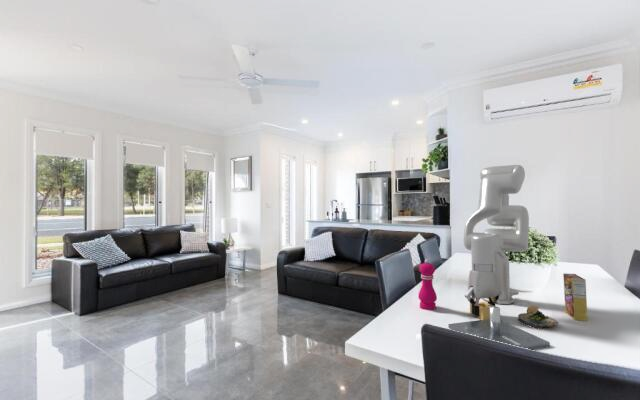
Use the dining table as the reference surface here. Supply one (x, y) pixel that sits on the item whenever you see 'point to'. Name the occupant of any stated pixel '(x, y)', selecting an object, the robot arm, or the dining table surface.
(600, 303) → the dining table surface
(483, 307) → the yellow socket block
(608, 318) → the dining table surface
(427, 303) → the pepper mill
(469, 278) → the robot arm
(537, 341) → the hub plate
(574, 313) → the candy box
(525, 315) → the plate of food
